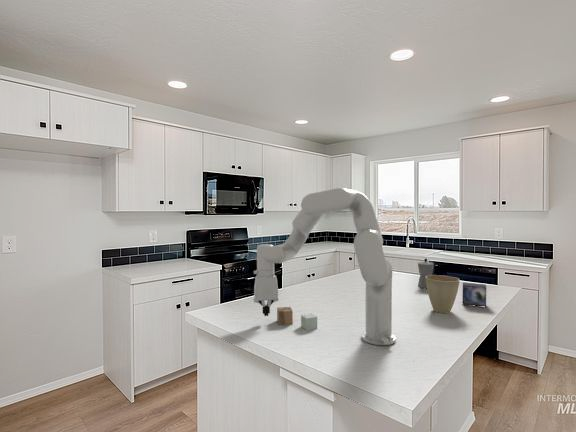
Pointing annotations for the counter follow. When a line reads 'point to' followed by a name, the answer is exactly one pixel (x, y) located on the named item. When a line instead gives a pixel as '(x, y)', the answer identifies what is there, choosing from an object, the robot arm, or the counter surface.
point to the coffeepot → (425, 272)
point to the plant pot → (442, 292)
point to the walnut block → (284, 315)
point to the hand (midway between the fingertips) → (266, 315)
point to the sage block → (309, 321)
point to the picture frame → (474, 294)
